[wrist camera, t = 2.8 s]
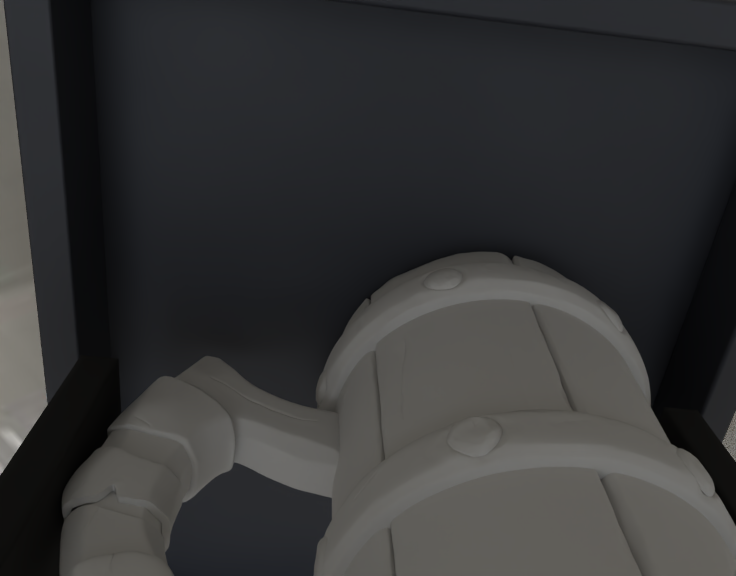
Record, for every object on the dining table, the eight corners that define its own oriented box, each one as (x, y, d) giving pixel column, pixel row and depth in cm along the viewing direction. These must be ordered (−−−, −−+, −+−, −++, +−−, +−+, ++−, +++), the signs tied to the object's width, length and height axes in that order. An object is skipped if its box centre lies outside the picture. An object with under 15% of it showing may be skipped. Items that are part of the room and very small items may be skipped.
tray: (54, -89, 13) (-8, -95, 11) (818, 10, 14) (905, 23, 12) (105, 581, 22) (74, 658, 19) (589, 615, 23) (615, 692, 20)
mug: (573, 503, 20) (832, 1179, 9) (153, 457, 19) (-126, 1147, 8) (665, 261, 16) (1257, 876, 6) (157, 190, 15) (-313, 761, 5)
